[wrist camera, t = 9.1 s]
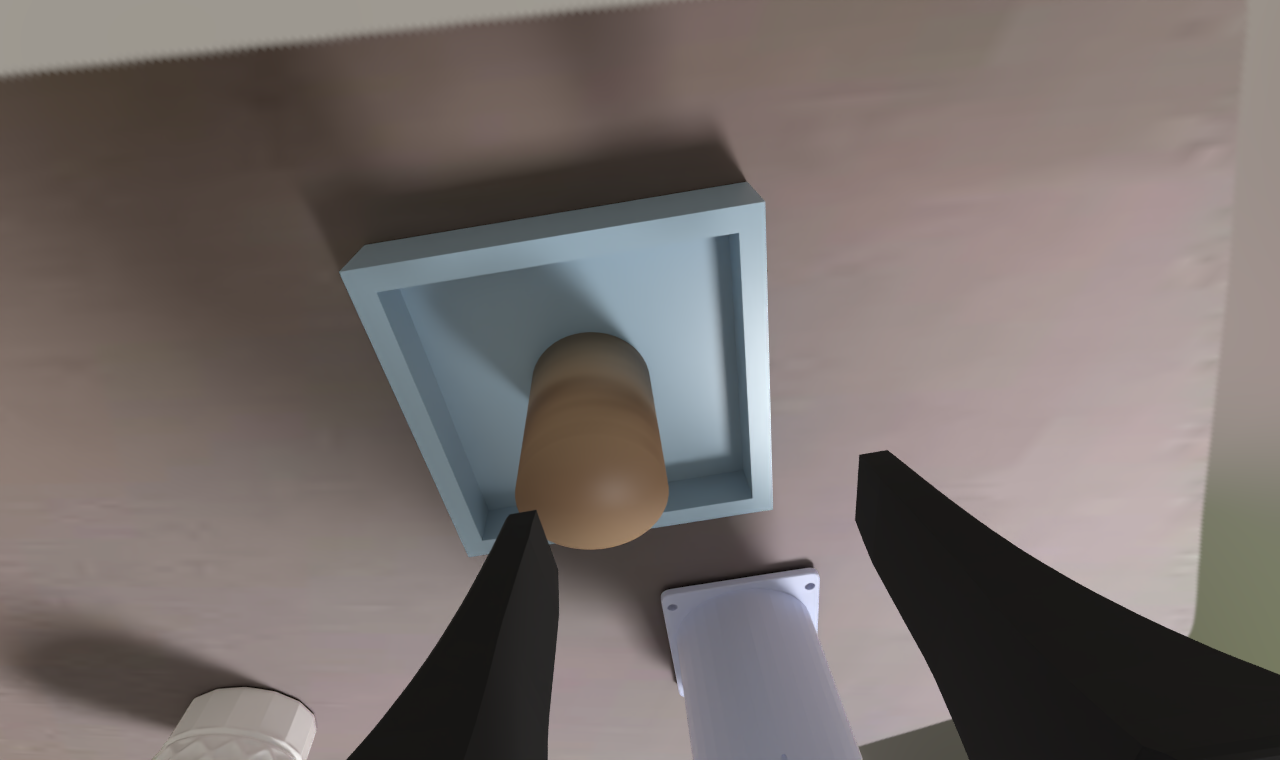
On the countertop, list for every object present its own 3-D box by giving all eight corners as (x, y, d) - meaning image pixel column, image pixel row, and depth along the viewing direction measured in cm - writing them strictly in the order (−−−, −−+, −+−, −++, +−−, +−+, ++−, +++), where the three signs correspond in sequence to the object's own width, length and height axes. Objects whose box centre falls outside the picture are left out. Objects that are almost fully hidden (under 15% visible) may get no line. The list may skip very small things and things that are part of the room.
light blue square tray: (758, 471, 26) (772, 509, 24) (477, 515, 26) (468, 557, 24) (746, 181, 19) (765, 201, 17) (364, 245, 19) (339, 272, 17)
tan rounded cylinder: (654, 424, 23) (673, 539, 18) (543, 437, 23) (531, 557, 18) (644, 325, 21) (663, 426, 16) (521, 339, 21) (499, 446, 15)
